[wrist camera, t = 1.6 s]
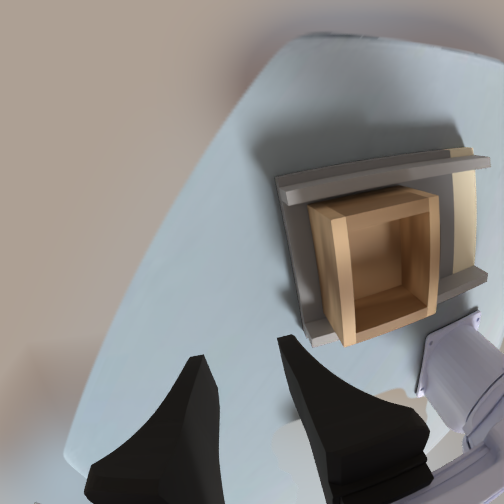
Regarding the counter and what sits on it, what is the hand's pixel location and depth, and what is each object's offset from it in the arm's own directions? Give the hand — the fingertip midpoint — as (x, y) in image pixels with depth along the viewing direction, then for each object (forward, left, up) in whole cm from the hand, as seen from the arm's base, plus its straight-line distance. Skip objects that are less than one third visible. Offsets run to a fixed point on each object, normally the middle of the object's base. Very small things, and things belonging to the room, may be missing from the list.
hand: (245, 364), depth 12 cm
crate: (0, -9, -8) cm, 12 cm away
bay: (0, -13, -9) cm, 16 cm away
